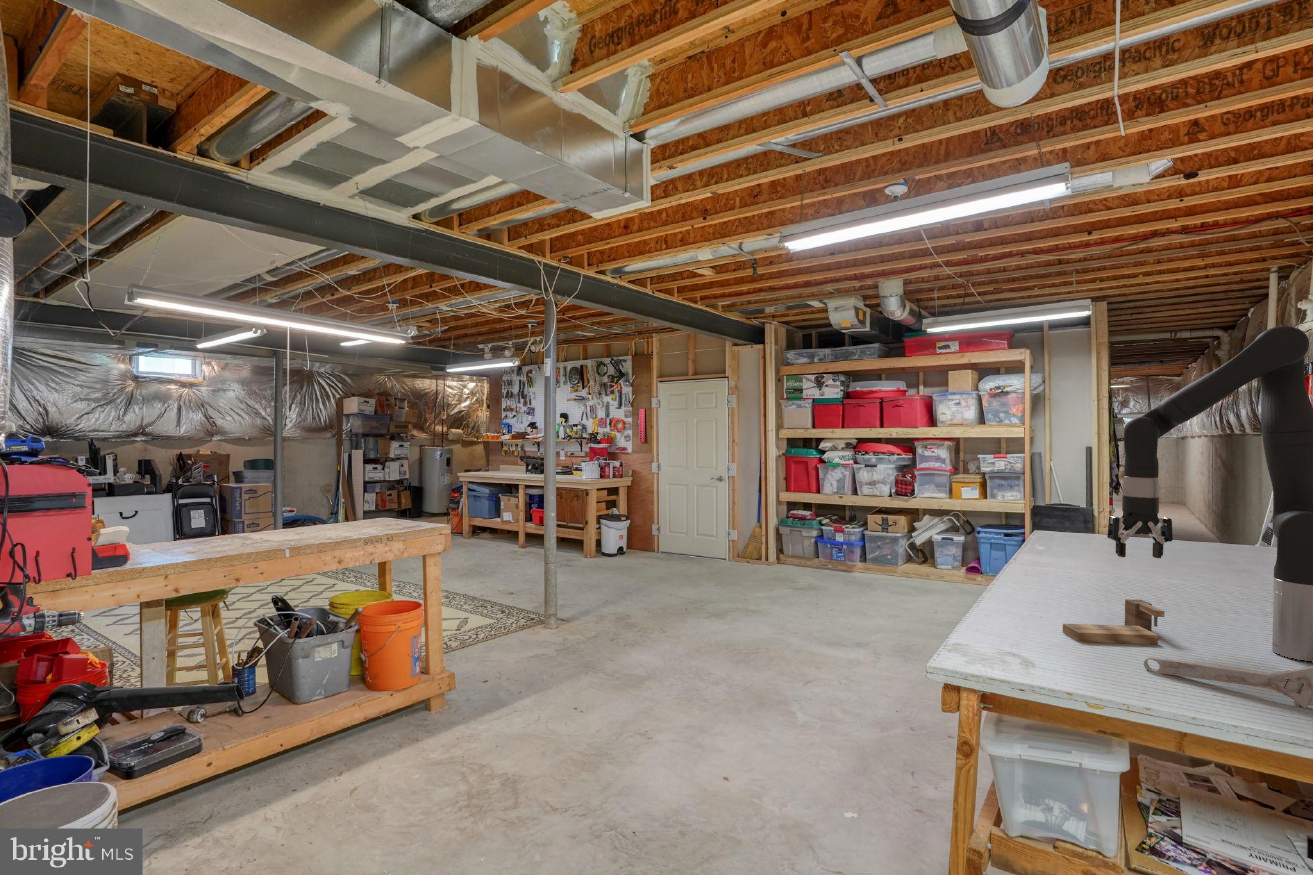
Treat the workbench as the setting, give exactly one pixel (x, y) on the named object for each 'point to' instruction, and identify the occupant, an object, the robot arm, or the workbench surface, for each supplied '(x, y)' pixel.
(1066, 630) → the board
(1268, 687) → the wrench
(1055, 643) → the workbench surface
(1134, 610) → the gauge
